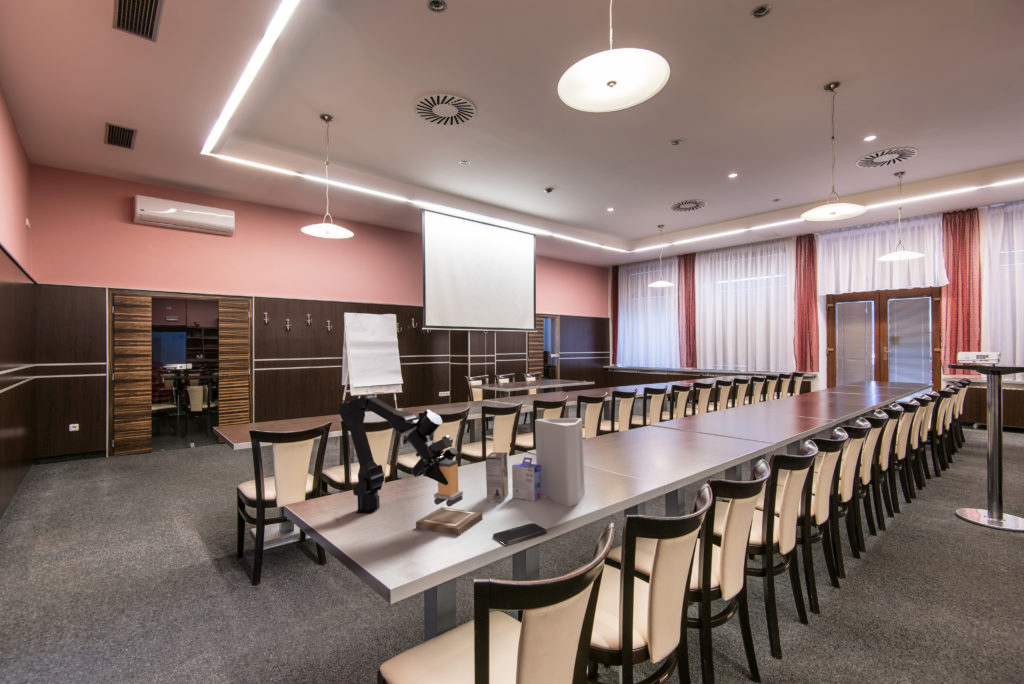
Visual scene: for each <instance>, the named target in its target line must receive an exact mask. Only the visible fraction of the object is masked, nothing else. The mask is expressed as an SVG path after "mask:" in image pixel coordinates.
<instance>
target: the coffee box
mask: <svg viewBox="0 0 1024 684" xmlns="http://www.w3.org/2000/svg"><path fill="white" fill-rule="evenodd" d="M508 471H509V470H508V452H507V451H506V452H505V451H504V452H497V451H496V452H493V451H492V452H490V453H489V454H488V455H487V456H486V457H485V475H486V476H485V477H486V478H485V480H486V481H485V482H486V501H487V502H491V501H499V502H500V501H501V502H500V503H503V502H504V501H505V500H506V498H507V497H508V495H509V476H508V475H509V474H508V473H509V472H508ZM499 502H498V503H499Z"/></svg>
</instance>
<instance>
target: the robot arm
mask: <svg viewBox="0 0 1024 684" xmlns="http://www.w3.org/2000/svg"><path fill="white" fill-rule="evenodd" d="M367 410H369V411H370V412H373V413H374V414H375V415H377V416H379V417H381V418H382V419H384V420H385V421H387V422H388V423H389V425H390V426H391V428H392V429H393V430H394V431H395V432H396V433H398V434H404V433H408V434H406V435H404V436H403V441H402V443H403V445H407V444H410V445H411V446H412V448H413V449H414V450H415V452H416V453H415V456H416V457H417V458H418V457H420V458H421V459H419V460H418V461H417V462H416V464H414V466H413V467H412V468H411V474H412V475H413V476H414V477H415V478H418V477H420V476H423V477H426V478H428V479H431V480H434V481H436V482H437V483H438V482H440V483H442V484H444V485H447V484H448V481H447V480H446V478H445V476H444V475H443V474H442V472H441V471H440V469H439V462H441V461H443V460H446V459H447V460H454V458H455V457H456V456H457V455H458V454H459V452H458V450H457V449H456V447H453V442H454V441H453V438H452V437H451V435H449V434H446V435H444V436H442V437H441V439H440V440H437V441H436V440H431V439H430V438H429V437H430V436H433V434H434V433H435V432H436V431H437V430H438V428H439V427H440V426H441V425H442V423H443V419H442V417H441V416H440V415H439V414H437V413H436V412H433V411H432V410H431V409H425V411H424V412H423V413H422V415H421V416H420V417H417V416H416V415H415V414H414V413H411V412H407V411H404V410H398V409H397V408H394V407H393V406H391V405H389V404H387V403H386V402H385V401H382V399H381V400H380V399H379V398H377V397H376V396H375V395H373V394H368V395H362V396H361V397H360V396H359V397H358V398H355V399H354V400H353V399H352V400H351V401H345V402H342V403H341V404H340V406H339V408H338V413H339V416H340V418H341V420H342V422H343V423H344V424H345V425H346V426H347V427H348V429H349V431H350V432H349V433H350V435H351V440H352V443H353V446H354V450H355V454H356V457H357V461H358V465H359V469H358V473H357V481H358V482H357V483H356V484H355V486H354V487H353V488H352V492H353V496H356V497H357V510H356V511H355V513H356V514H373V513H375V512H376V511H377V510H379V509H380V508H381V504H380V502H381V501H380V495H379V491H381V490H382V487H383V484H384V483H385V476H386V474H385V472H384V469H383V466H382V464H377V463H376V462H375V460H374V457H373V454H372V453H373V452H372V450H371V445H370V442H369V439H368V436H367V432H366V431H367V430H366V429H365V425H364V421H365V417H366V412H365V411H367ZM422 471H423V472H424V473H423V472H422ZM422 473H423V474H422Z"/></svg>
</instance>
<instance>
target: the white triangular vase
mask: <svg viewBox="0 0 1024 684" xmlns="http://www.w3.org/2000/svg"><path fill="white" fill-rule="evenodd" d="M534 422H535V425H534V427H535V429H534V430H535V451H536V452H535V453H536V454H535V455H536V457H535V458H536V464H537V465H541V496H543V497H545V496H546V497H545V498H547V497H548V498H547V499H549V498H550V499H549V500H552V501H554V502H556V501H557V503H559V504H562V505H564V506H566V507H572V506H576V505H579V503H580V502H581V500H582V498H583V497H584V496H585V492H586V490H585V487H586V485H585V467H584V466H585V464H584V463H585V462H584V461H585V460H584V437H583V436H584V433H583V431H584V429H583V419H582V418H579V417H569V418H568V417H561V418H559V417H558V418H552V417H551V418H538V419H535V421H534Z"/></svg>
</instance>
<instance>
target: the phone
mask: <svg viewBox="0 0 1024 684" xmlns="http://www.w3.org/2000/svg"><path fill="white" fill-rule="evenodd" d="M546 534H548V532H547V529H546V528H544V527H542V526H540V525H539V524H537V523H533V522H531V523H528V524H523V525H521V526H517V527H516V526H515V527H512V528H508V529H505V530H502V531H498V532H495V533H493V534H492V538H493V537H494V538H496V539H498V540H499V541H501V542H503V543H504V544H506V545H505V546H510V545H514V544H516V543H520V542H524V541H527V540H529V539H533V538H537V537H540V536H543V535H546ZM494 538H493V539H494ZM496 539H495V540H496ZM499 541H498V542H499Z"/></svg>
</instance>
